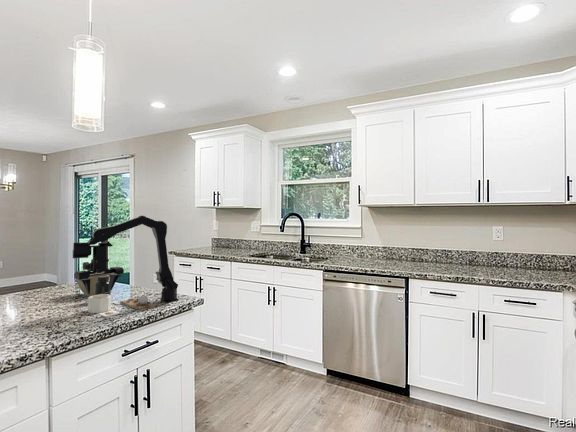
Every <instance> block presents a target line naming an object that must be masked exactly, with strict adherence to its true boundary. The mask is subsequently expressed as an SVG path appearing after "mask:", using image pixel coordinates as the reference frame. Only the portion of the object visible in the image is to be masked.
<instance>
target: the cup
mask: <svg viewBox="0 0 576 432" xmlns="http://www.w3.org/2000/svg"><path fill="white" fill-rule="evenodd" d="M111 310H112V294H111V295H108V294H100V295H94V296H90V297H88V296H87V312H88V313H89V314H99V313H104V312H108V311H111Z"/></svg>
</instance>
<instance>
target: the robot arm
mask: <svg viewBox="0 0 576 432" xmlns="http://www.w3.org/2000/svg"><path fill="white" fill-rule="evenodd" d="M141 225H143V226H146V227H148V228H149V229H150V228H151V231H152V234H153V236H154V239H155V243H156V250H157V259H158V267H159V268H158V271H155V274H156V275H155V276H156V280H157V282H158V283H159V284H160V285H161V286H162V290H161V294H160V295H161V298H160V301H161V302H165V303H171V302H175V301H178V300H179V298H178V293H177V292H178V287H179V284H178V283H177V282H176V281H175V280H174V277H173V274H172V271H171V269H170V267H169V259H168V258H169V257H168V249H167V241H166V239H167V238H166V237H167V233H168V231H167V230H168V225H167V223H166V222H164V221H163V220H155V219H153V218H150V217H147V216H145V215H139V216H137V217H134V218H132V219H129V220H126V221H123V222H120V223H118V224H115V225H111V226H104V227H101V228H100V227H99V228H96V229H94V230H93V232H92V236H91V237H90V239H89V240H88V241H87V242H79V241H78V242H77V241H75V242H73V245H72V259H85V258H89V256H92V258H91V260H90V262H88V261H85V262H82V270H77V271H75V272H74V275H73V277H74V279H76V280H77V279H78V280H81V281H82V282H83V284H84V286H85V289H86V291H87V293H88V294H90V279H89V277H90V276H94V275H102V274H109V273H111V274H109V277H110V285H109V289H110V290H111V291H112V290H113V289H114V286H115V284H116V282H117V281H118V280H119V278H120V277H121V276H122V275H123V274H124V272H125V269H124V268H123V267H122V266H112V267H111V266H110V268H108V262H110V259H109V258H108V257H109V256H108V252H109V250H108V249H109V248H108V247H113V244H112V243H110V241H109V240H110V239H111V238H113V237H114V236H116V235H118V234H121V233H122V232H125V231H127V230H131V229H132V228H136V227H139V226H141Z"/></svg>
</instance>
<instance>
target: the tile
mask: <svg viewBox="0 0 576 432" xmlns="http://www.w3.org/2000/svg"><path fill="white" fill-rule="evenodd" d="M98 315H99V316H102V317H104V318H107V317H111V316H117V315H120V312H118V311H115V310H109V311H106V312H101V313H98Z"/></svg>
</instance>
